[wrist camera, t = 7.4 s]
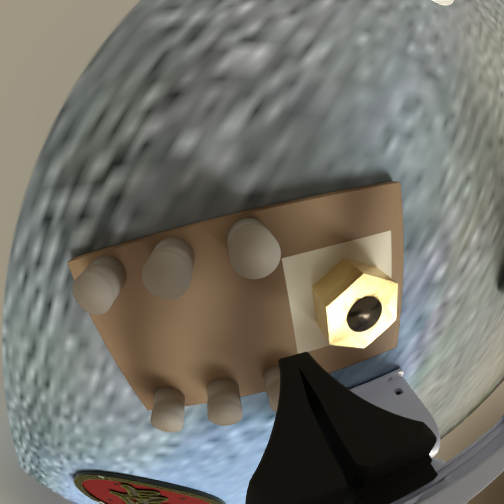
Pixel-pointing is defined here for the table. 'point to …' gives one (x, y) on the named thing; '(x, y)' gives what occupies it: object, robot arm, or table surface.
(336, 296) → the brass nut
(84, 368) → the table surface
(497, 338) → the table surface
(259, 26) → the table surface
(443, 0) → the hook
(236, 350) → the board
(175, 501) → the decorative plate
